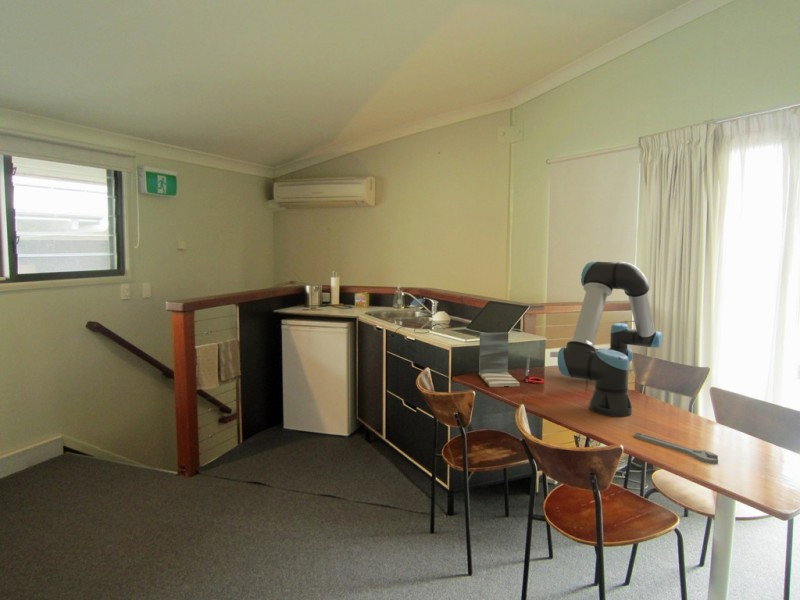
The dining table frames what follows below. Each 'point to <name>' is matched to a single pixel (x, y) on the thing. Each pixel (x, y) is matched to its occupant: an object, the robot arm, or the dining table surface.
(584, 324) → the robot arm
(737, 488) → the dining table surface
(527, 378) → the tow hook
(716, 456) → the adjustable wrench
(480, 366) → the grey l-shaped piece
